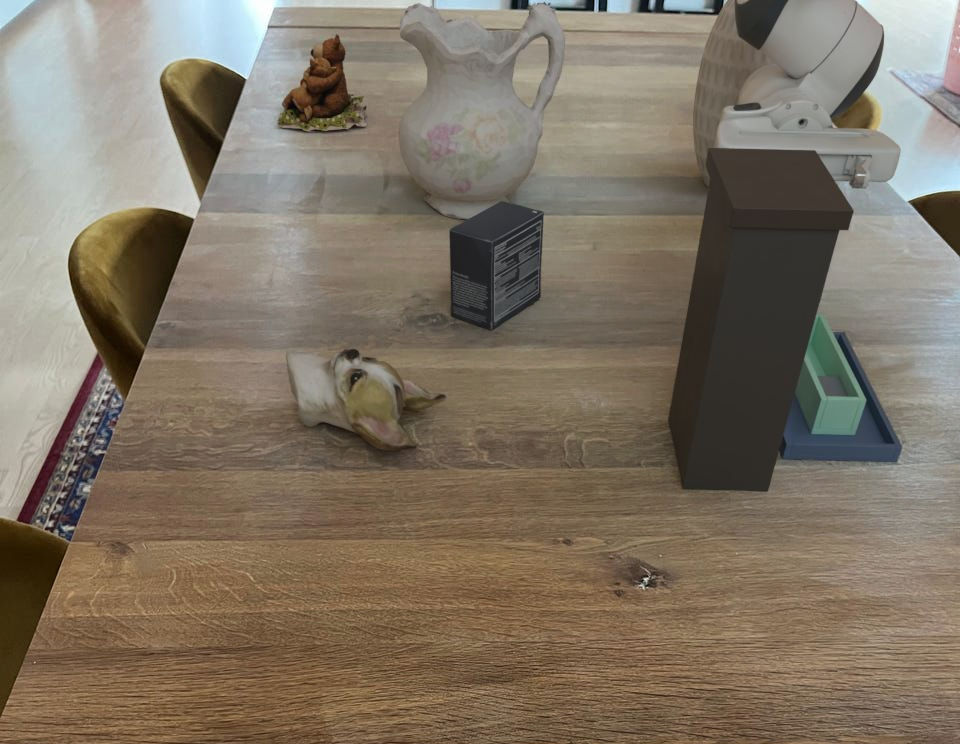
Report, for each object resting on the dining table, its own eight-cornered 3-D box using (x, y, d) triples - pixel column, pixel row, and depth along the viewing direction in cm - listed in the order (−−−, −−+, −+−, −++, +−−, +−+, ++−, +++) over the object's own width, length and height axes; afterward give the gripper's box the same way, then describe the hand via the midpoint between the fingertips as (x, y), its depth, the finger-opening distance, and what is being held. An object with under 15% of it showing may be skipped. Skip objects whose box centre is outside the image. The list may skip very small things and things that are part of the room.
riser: (750, 419, 100) (815, 150, 82) (774, 494, 91) (854, 210, 72) (662, 416, 100) (708, 147, 82) (678, 492, 91) (733, 207, 73)
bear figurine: (279, 108, 169) (270, 27, 160) (366, 106, 170) (361, 26, 161) (276, 134, 159) (266, 49, 151) (368, 132, 160) (363, 48, 152)
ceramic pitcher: (526, 181, 149) (529, -13, 133) (575, 220, 135) (585, 7, 119) (389, 197, 144) (374, -3, 128) (425, 239, 130) (414, 20, 114)
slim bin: (814, 347, 110) (823, 313, 107) (854, 435, 97) (866, 400, 94) (775, 346, 110) (783, 312, 107) (810, 434, 97) (821, 399, 94)
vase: (785, 189, 145) (836, -38, 126) (723, 206, 140) (767, -27, 120) (725, 163, 153) (764, -55, 133) (664, 179, 148) (696, -45, 128)
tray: (840, 345, 111) (844, 331, 110) (897, 462, 95) (902, 447, 94) (742, 343, 111) (745, 329, 110) (782, 459, 95) (786, 444, 94)
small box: (498, 284, 121) (501, 197, 114) (542, 298, 119) (547, 211, 111) (447, 315, 115) (446, 226, 108) (492, 331, 112) (494, 241, 105)
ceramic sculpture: (307, 310, 96) (451, 341, 94) (312, 386, 103) (447, 417, 100) (260, 362, 89) (415, 397, 87) (269, 441, 96) (413, 476, 93)
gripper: (872, 167, 116) (906, 212, 106) (700, 164, 116) (718, 208, 106) (888, 109, 111) (925, 150, 102) (709, 106, 112) (729, 146, 102)
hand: (817, 180), depth 104 cm, fingers open, 8 cm apart
